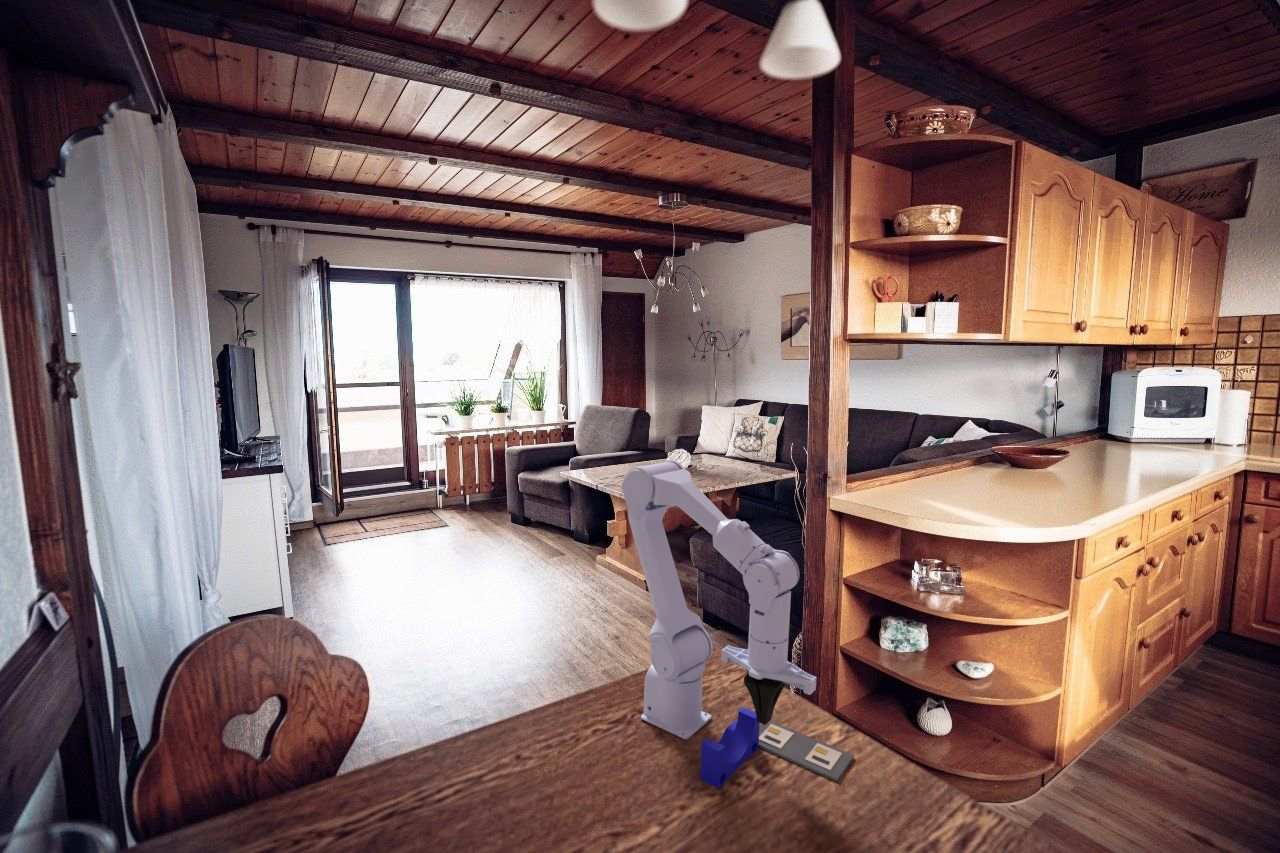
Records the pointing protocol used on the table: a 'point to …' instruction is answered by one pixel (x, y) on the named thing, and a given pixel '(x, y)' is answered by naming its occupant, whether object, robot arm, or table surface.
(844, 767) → the label board
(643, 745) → the table surface
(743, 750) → the cable clip
